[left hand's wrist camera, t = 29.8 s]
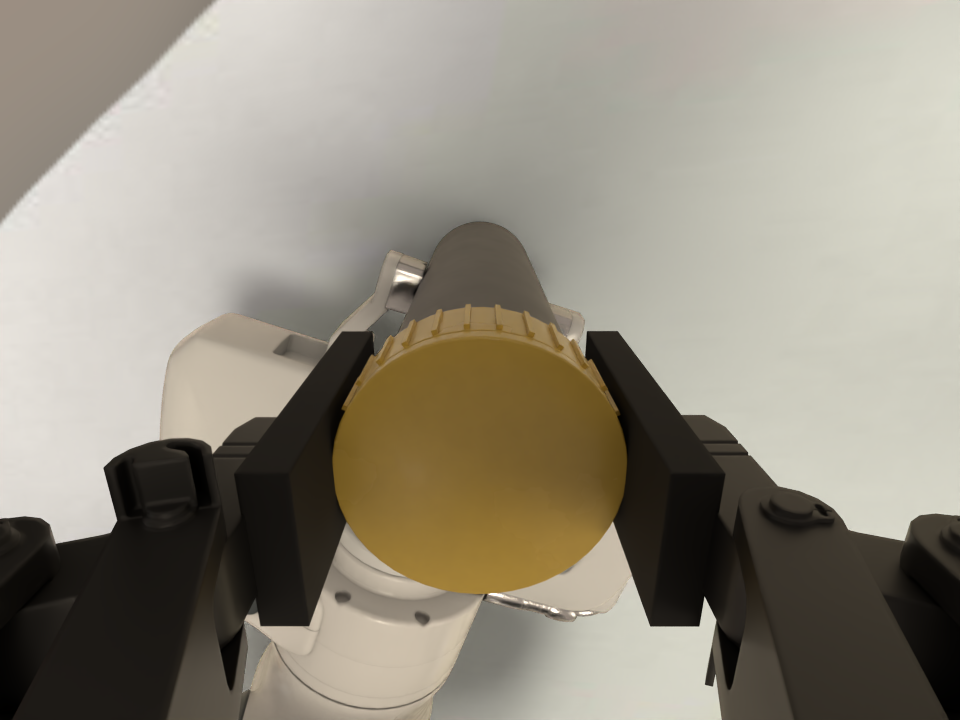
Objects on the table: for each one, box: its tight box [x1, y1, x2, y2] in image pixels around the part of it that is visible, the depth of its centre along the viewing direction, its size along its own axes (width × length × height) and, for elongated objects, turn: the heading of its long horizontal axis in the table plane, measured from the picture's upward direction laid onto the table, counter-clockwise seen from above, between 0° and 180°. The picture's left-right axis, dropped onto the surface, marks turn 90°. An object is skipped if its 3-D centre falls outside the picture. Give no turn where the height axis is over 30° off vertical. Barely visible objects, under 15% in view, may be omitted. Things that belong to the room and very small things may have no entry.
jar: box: [398, 222, 562, 334], centre depth 19 cm, size 5×5×17 cm
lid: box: [332, 304, 627, 594], centre depth 11 cm, size 6×6×2 cm
